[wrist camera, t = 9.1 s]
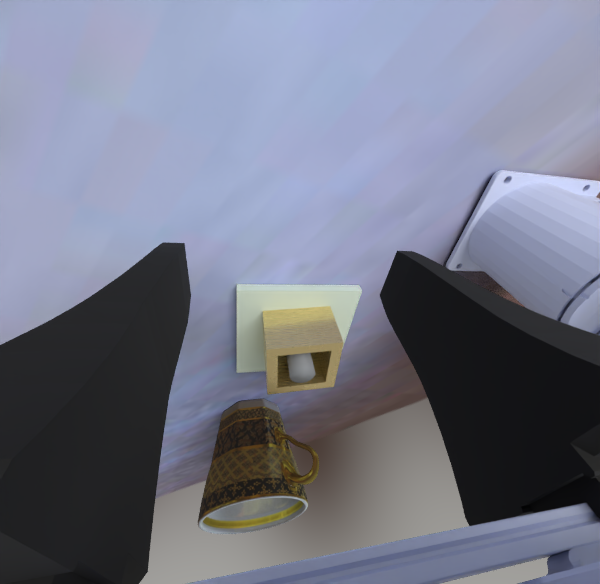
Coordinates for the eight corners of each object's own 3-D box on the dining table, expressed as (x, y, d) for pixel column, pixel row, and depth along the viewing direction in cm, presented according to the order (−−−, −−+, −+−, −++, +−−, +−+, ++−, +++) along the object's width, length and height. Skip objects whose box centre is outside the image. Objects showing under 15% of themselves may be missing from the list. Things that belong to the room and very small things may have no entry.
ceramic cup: (252, 441, 38) (255, 536, 31) (188, 421, 33) (173, 531, 25) (328, 395, 34) (354, 492, 27) (270, 364, 29) (282, 475, 21)
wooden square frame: (330, 306, 24) (343, 342, 21) (323, 350, 27) (333, 386, 24) (262, 310, 23) (266, 349, 20) (264, 355, 26) (267, 394, 23)
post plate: (358, 285, 24) (381, 328, 20) (334, 360, 30) (348, 404, 26) (236, 284, 22) (236, 331, 18) (236, 366, 28) (236, 414, 24)
